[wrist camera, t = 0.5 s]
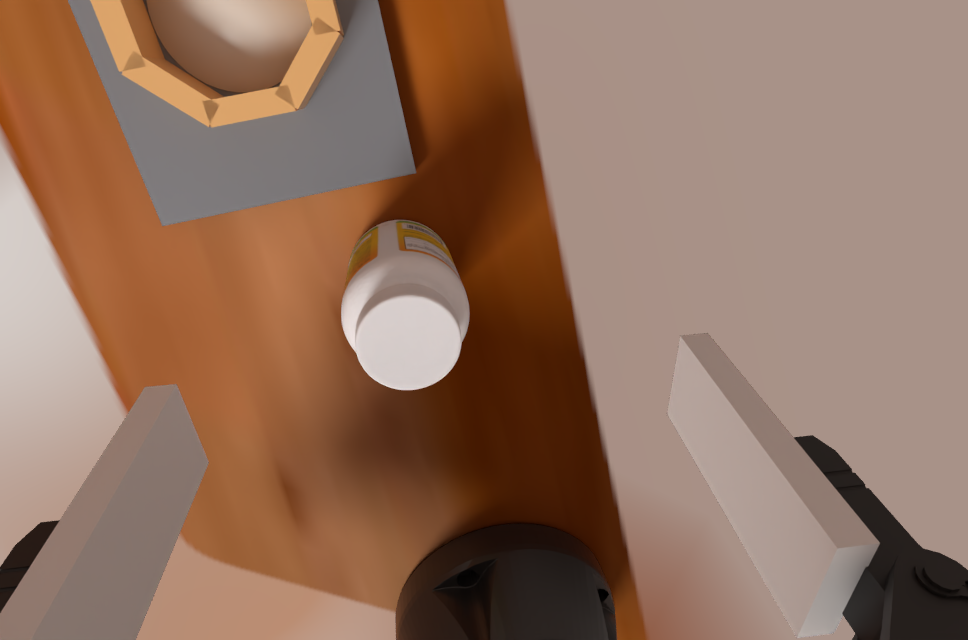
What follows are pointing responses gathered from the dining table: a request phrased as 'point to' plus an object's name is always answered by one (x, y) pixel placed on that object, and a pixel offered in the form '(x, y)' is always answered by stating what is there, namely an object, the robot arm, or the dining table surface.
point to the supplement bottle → (404, 305)
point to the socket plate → (248, 98)
